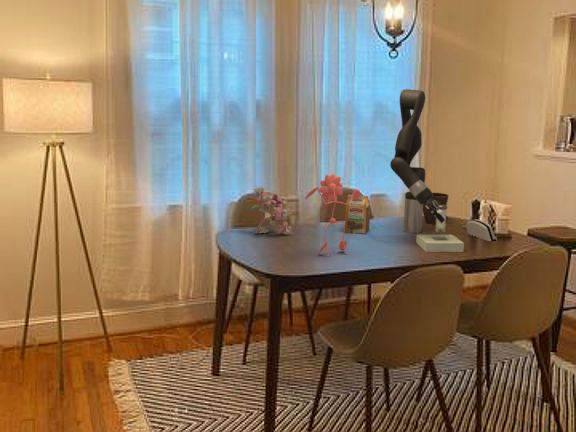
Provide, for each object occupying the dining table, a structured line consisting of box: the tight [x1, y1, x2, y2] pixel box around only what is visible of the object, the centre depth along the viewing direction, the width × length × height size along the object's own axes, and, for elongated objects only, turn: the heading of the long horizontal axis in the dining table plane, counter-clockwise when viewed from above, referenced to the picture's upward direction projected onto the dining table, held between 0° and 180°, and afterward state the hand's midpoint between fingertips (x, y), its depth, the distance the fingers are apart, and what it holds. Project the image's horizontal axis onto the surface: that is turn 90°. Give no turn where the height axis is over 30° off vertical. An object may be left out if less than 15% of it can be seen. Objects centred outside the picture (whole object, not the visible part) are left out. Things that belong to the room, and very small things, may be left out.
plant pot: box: [423, 192, 449, 225], centre depth 327 cm, size 15×15×16 cm
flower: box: [251, 186, 294, 236], centre depth 294 cm, size 20×22×25 cm
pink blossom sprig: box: [304, 173, 362, 257], centre depth 259 cm, size 15×26×35 cm, turn 117°
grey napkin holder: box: [466, 219, 498, 242], centre depth 293 cm, size 17×5×10 cm, turn 21°
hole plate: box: [416, 234, 465, 253], centre depth 272 cm, size 17×17×4 cm
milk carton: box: [344, 194, 371, 235], centre depth 302 cm, size 11×11×19 cm
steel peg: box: [434, 205, 448, 233], centre depth 270 cm, size 5×5×12 cm
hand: (444, 220), depth 269 cm, fingers closed on steel peg, 4 cm apart
